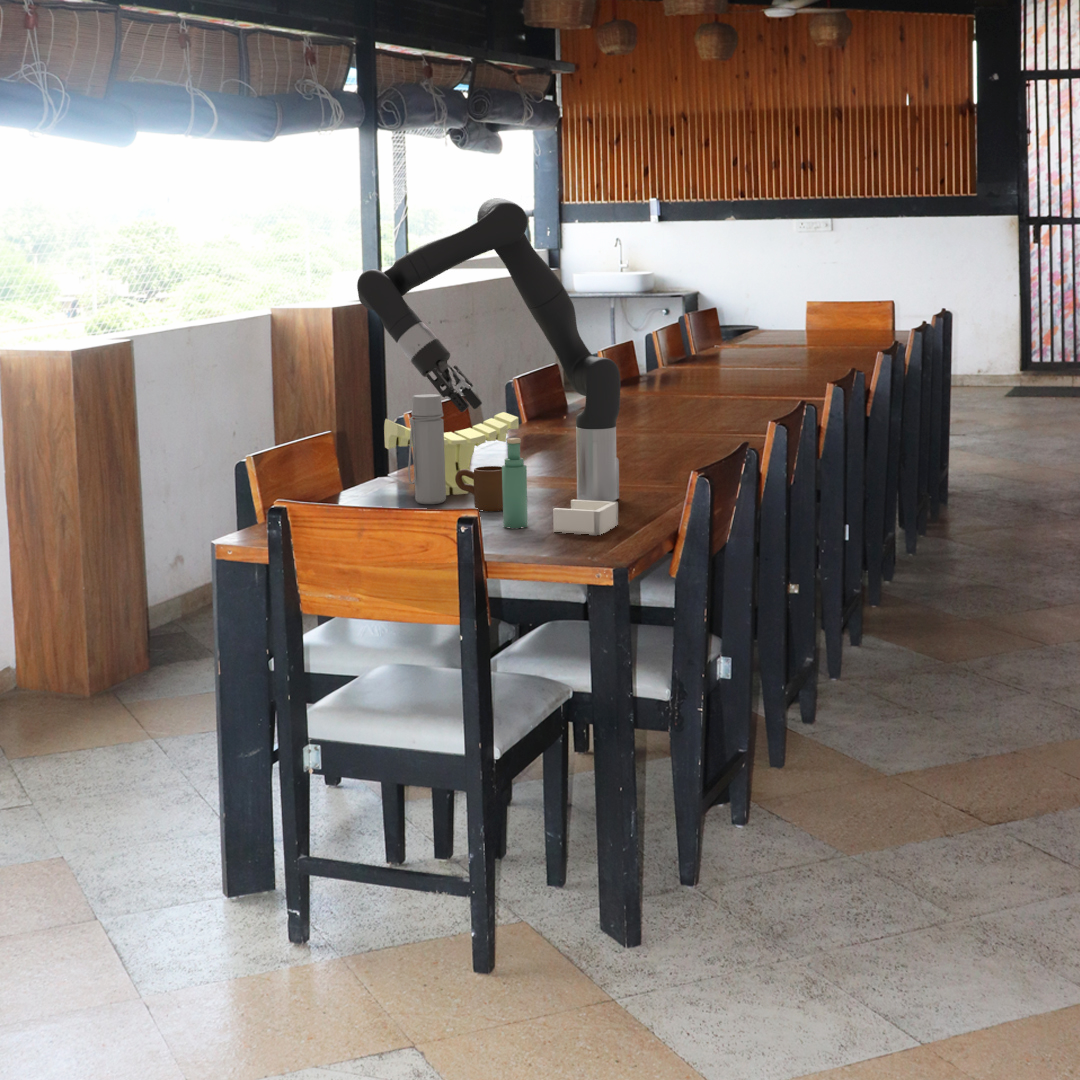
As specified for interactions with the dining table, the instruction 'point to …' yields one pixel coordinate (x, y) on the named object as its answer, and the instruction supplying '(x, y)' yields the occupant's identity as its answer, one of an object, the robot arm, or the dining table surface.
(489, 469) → the mug
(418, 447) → the water bottle
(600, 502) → the holder
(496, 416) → the slatted curved stool
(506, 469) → the green bottle
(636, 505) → the dining table surface
